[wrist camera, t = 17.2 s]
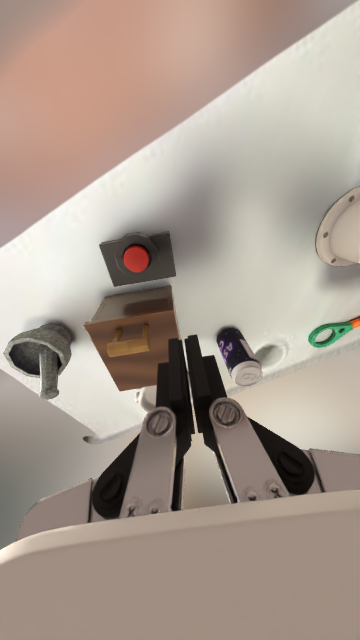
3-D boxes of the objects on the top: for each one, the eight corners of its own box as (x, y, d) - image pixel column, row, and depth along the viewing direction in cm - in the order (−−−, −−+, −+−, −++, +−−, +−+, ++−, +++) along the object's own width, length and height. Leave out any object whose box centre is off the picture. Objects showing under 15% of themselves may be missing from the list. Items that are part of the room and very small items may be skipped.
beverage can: (221, 323, 41) (240, 363, 31) (244, 327, 42) (270, 367, 32) (212, 343, 44) (227, 386, 34) (234, 347, 45) (255, 389, 35)
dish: (131, 390, 50) (128, 407, 46) (160, 357, 44) (160, 373, 40) (175, 406, 55) (176, 423, 51) (206, 378, 50) (210, 394, 46)
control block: (167, 226, 30) (168, 228, 27) (175, 273, 34) (176, 279, 31) (99, 237, 30) (93, 241, 27) (115, 283, 34) (111, 291, 31)
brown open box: (105, 296, 35) (89, 323, 27) (171, 285, 35) (174, 309, 27) (127, 354, 43) (120, 387, 35) (181, 344, 43) (186, 376, 35)
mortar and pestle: (17, 331, 38) (-36, 379, 27) (49, 307, 35) (5, 349, 25) (64, 363, 43) (34, 413, 33) (94, 345, 41) (72, 391, 31)
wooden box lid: (84, 322, 26) (70, 348, 22) (173, 306, 26) (176, 330, 22) (120, 387, 35) (114, 416, 31) (186, 376, 35) (190, 403, 31)
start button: (145, 243, 28) (145, 245, 27) (151, 266, 30) (150, 270, 29) (122, 247, 28) (120, 249, 27) (129, 270, 30) (127, 274, 29)
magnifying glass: (310, 348, 47) (314, 353, 46) (306, 332, 44) (311, 336, 43) (374, 321, 44) (381, 325, 43) (375, 301, 41) (383, 305, 40)
